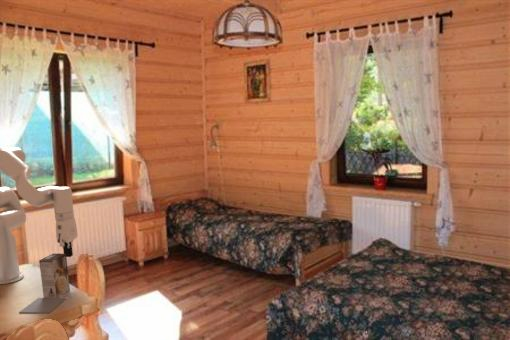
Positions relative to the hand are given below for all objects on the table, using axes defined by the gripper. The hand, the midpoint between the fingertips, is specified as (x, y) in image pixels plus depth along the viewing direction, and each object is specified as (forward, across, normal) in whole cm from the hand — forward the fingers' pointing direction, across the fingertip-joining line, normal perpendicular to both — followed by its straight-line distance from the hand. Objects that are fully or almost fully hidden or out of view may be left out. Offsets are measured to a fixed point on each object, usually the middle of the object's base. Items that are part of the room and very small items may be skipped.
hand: (68, 256), depth 197 cm
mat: (+12, -24, -1) cm, 26 cm away
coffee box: (+12, -12, 0) cm, 17 cm away
